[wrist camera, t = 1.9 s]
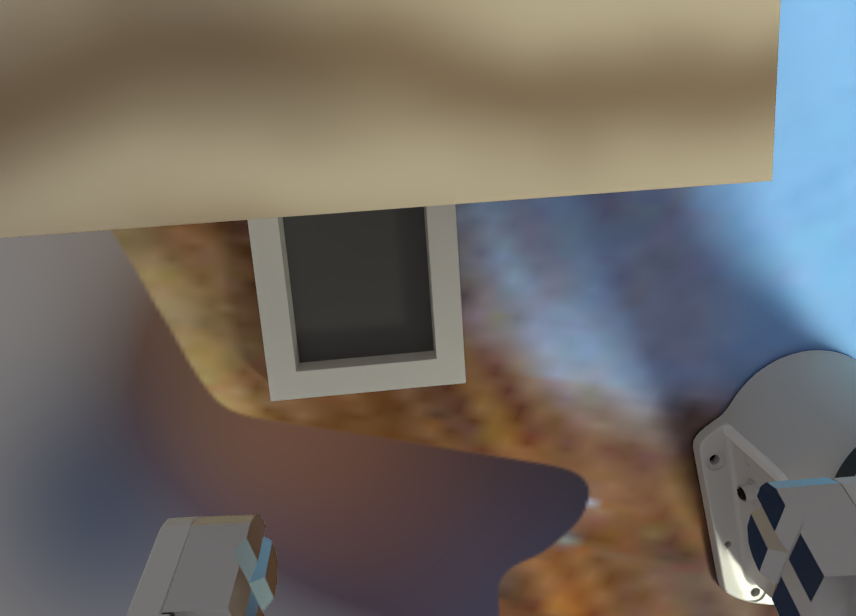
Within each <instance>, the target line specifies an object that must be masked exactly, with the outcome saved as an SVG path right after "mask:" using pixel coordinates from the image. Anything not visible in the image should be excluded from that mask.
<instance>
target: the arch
mask: <svg viewBox="0 0 856 616" xmlns="http://www.w3.org/2000/svg"><path fill="white" fill-rule="evenodd" d="M780 1H781V0H0V238H9V237H22V236H35V235H49V234H61V233H75V232H89V231H102V230H116V229H129V228H143V227H156V226H170V225H183V224H197V223H210V222H223V221H237V220H250V219H264V218H277V217H291V216H304V215H317V214H331V213H344V212H358V211H371V210H385V209H398V208H411V207H425V206H438V205H452V204H465V203H478V202H492V201H505V200H519V199H532V198H546V197H559V196H572V195H586V194H599V193H613V192H626V191H640V190H653V189H666V188H680V187H693V186H707V185H720V184H734V183H747V182H760V181H772V169H773V148H774V127H775V106H776V85H777V64H778V43H779V22H780Z"/></svg>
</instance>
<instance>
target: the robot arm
mask: <svg viewBox="0 0 856 616" xmlns="http://www.w3.org/2000/svg"><path fill="white" fill-rule="evenodd" d="M693 451H694V456H695V461H696V467H697V472H698V478H699V483H700V489H701V494H702V499H703V505H704V510H705V516H706V521H707V526H708V532H709V537H710V543H711V548H712V553H713V559H714V564H715V570H716V575H717V580H718V583H719V586H720V587H721V588H722V589H723V590H724V591H725V592H726V593H727V594H729V595H731V596H733V597H735V598H738V599H740V600H743V601H747V602H752V603H758V604H772V605H775V608H776V610H777V612H778V614H779V616H856V360H855V359H853V358H851V357H849V356H847V355H844V354H841V353H838V352H833V351H826V350H810V351H803V352H798V353H794V354H791V355H788V356H785V357H783V358H780V359H778V360H776V361H774V362H772V363H771V364H769V365H767V366H766V367H764V368H763V369H761V370H760V371H759V372H757V373H756V374H755V375H754V376H753V377H752V378H751V379H750V380H749V381H748V382H747V383H746V384H745V385H744V386H743V387H742V388H741V389H740V391H739V392H738V393H737V395H736V396H735V398H734V399H733V401H732V402H731V404H730V405H729V407H728V408H727V409H726V411H725V412H724V413H723V414H722V415H721V416H720V417H718V418H717V419H716V420H714V421H713V422H711V423H710V424H709V425H707V426H706V427H705V428H703V429H702V430H701V431H700V432H699V433H698V434H697V435H696V437H695V439H694V441H693ZM713 455H715V457H714V459H713V460H711V461H709V460H710V457H711V456H713ZM265 527H266V525H265V523H264V521H263V519H262V517H261V515H260V514H252V515H231V516H209V517H186V518H169V519H167V521H166V522H165V523H164V524H163V526H162V527H161V528H160V530H159V533H158V535H157V538H156V540H155V543H154V546H153V548H152V551H151V553H150V556H149V558H148V561H147V564H146V566H145V569H144V571H143V574H142V577H141V579H140V581H139V584H138V587H137V589H136V592H135V595H134V598H133V600H132V602H131V605H130V607H129V610H128V612H127V615H126V616H264V615H263V610H264V609H265V608H266V607H267V606H268V605H269V603H270V602H271V601H272V600H273V599H274V595H275V590H276V585H277V570H278V561H277V556H276V550H275V547H274V545H273V542H272V541H270V540H269V539H267V538H265V537H264V531H265ZM752 589H754V590H752ZM751 590H752V591H751Z"/></svg>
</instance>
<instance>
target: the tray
mask: <svg viewBox="0 0 856 616" xmlns="http://www.w3.org/2000/svg"><path fill="white" fill-rule="evenodd" d="M247 221H248V229H249V236H250V244H251V252H252V260H253V267H254V275H255V283H256V290H257V298H258V306H259V313H260V321H261V329H262V337H263V344H264V352H265V360H266V367H267V375H268V383H269V391H270V398H271V401H279V400H290V399H300V398H311V397H321V396H332V395H343V394H353V393H364V392H374V391H385V390H396V389H406V388H417V387H427V386H438V385H449V384H459V383H466V376H465V359H464V342H463V325H462V308H461V291H460V274H459V257H458V240H457V223H456V206H455V204H452V205H438V206H425V207H411V208H398V209H385V210H371V211H358V212H344V213H331V214H317V215H304V216H291V217H277V218H264V219H250V220H247Z"/></svg>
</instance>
